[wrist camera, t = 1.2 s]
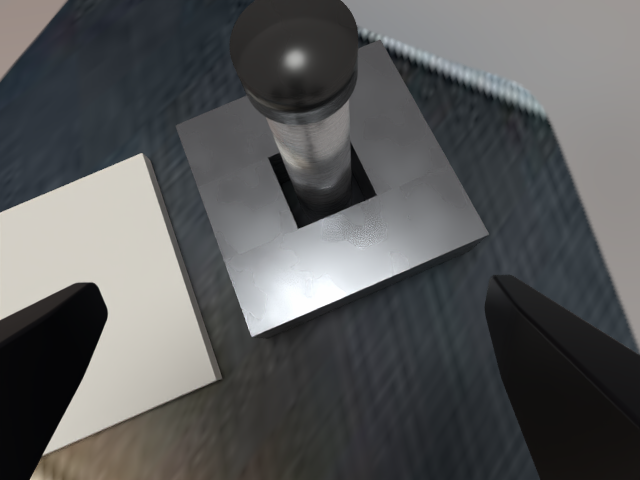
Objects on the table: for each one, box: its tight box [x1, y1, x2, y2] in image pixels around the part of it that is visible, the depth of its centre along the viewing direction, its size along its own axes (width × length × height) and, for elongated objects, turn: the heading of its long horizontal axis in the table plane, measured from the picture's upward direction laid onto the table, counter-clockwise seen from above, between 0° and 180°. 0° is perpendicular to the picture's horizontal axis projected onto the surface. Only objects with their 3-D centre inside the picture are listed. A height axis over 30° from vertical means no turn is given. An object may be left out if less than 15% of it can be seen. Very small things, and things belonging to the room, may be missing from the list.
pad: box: [0, 153, 222, 457], centre depth 23 cm, size 14×14×1 cm
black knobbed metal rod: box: [230, 0, 358, 222], centre depth 18 cm, size 4×4×13 cm
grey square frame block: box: [176, 40, 489, 338], centre depth 22 cm, size 12×12×4 cm
